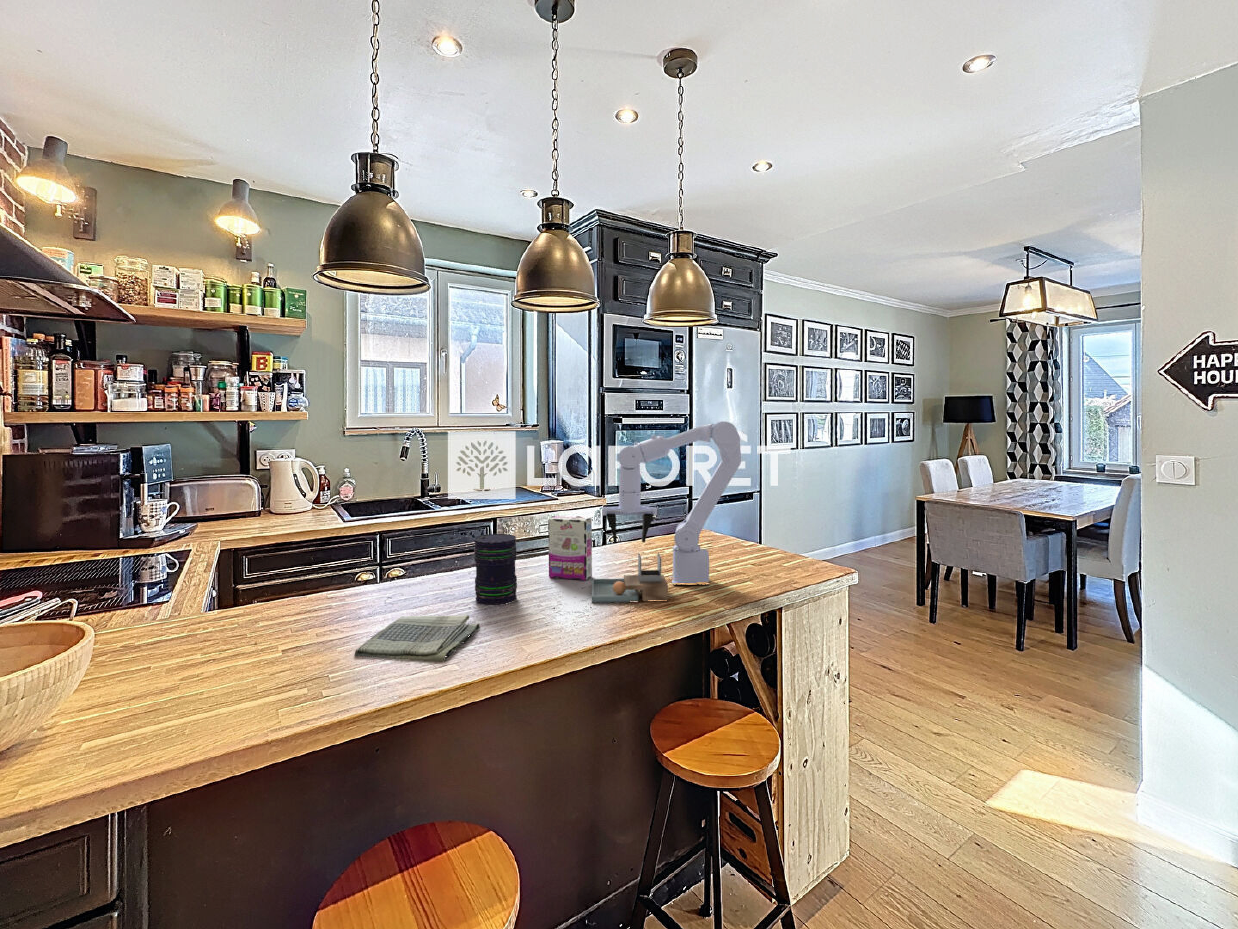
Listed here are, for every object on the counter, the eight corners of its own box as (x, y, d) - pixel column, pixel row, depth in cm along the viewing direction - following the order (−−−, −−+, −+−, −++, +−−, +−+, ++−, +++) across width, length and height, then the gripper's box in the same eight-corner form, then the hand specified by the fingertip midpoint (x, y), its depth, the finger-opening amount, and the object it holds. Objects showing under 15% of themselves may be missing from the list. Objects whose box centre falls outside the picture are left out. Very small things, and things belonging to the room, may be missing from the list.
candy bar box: (592, 576, 160) (592, 517, 159) (586, 581, 156) (586, 520, 154) (555, 573, 164) (554, 515, 162) (547, 577, 159) (547, 518, 158)
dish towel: (351, 659, 106) (350, 642, 106) (400, 625, 124) (400, 610, 124) (448, 665, 104) (447, 648, 103) (484, 629, 121) (484, 614, 121)
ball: (615, 594, 144) (627, 589, 144) (616, 598, 141) (628, 593, 141) (610, 582, 144) (622, 577, 144) (610, 586, 140) (623, 581, 140)
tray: (634, 584, 152) (634, 578, 152) (638, 602, 137) (638, 596, 137) (592, 585, 152) (592, 579, 152) (591, 603, 137) (591, 596, 137)
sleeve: (658, 577, 145) (659, 553, 144) (661, 583, 140) (661, 558, 139) (638, 577, 145) (638, 553, 144) (639, 583, 140) (639, 558, 139)
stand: (663, 590, 147) (663, 575, 147) (667, 601, 138) (667, 585, 138) (623, 591, 147) (623, 575, 147) (625, 602, 138) (625, 585, 138)
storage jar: (521, 593, 144) (521, 534, 143) (510, 606, 135) (509, 542, 134) (482, 592, 145) (481, 533, 144) (468, 605, 136) (467, 541, 135)
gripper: (602, 493, 151) (602, 544, 152) (658, 493, 151) (657, 544, 152) (602, 489, 158) (601, 539, 159) (655, 490, 158) (654, 539, 160)
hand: (629, 541), depth 156 cm, fingers open, 7 cm apart
